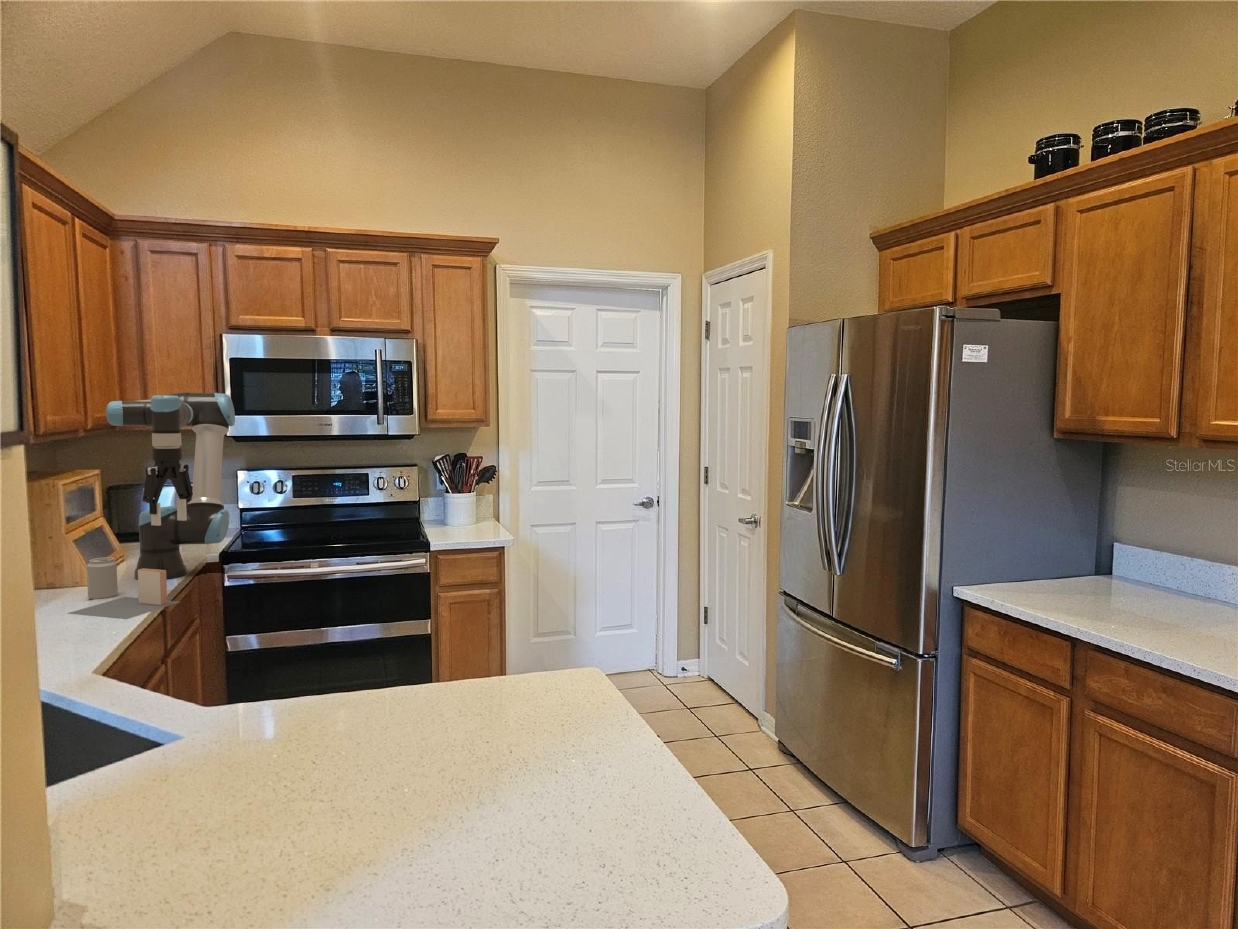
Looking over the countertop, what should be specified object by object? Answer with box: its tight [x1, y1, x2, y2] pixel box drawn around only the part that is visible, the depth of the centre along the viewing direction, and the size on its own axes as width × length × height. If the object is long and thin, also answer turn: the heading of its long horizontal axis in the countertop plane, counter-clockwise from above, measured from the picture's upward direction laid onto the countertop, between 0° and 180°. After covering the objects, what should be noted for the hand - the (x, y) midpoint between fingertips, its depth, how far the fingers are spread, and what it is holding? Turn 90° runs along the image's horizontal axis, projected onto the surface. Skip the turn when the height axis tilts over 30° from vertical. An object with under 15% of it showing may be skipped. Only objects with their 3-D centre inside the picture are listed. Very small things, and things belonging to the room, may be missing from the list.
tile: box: [137, 568, 168, 606], centre depth 226 cm, size 2×8×10 cm, turn 77°
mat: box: [66, 596, 180, 620], centre depth 222 cm, size 19×20×1 cm
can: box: [86, 556, 119, 601], centre depth 234 cm, size 8×8×12 cm
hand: (169, 522), depth 231 cm, fingers open, 9 cm apart
